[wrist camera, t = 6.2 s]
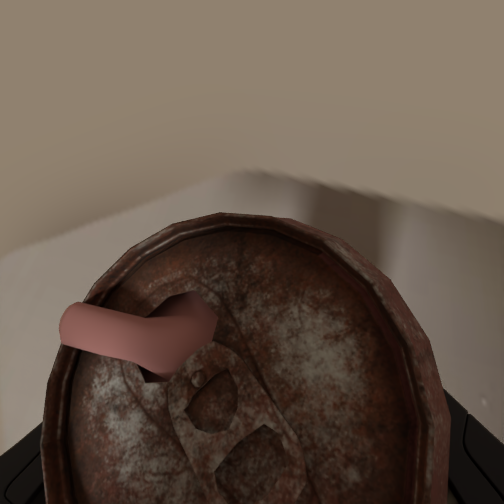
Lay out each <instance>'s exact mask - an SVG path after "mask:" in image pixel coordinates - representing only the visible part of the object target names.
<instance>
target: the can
mask: <svg viewBox="0 0 504 504" xmlns="http://www.w3.org/2000/svg"><path fill="white" fill-rule="evenodd" d="M59 333H60V338H61V345H60V348H59V351H58V354H57V357H56V359H55V362H54V365H53V368H52V371H51V374H50V377H49V380H48V383H47V390H46V398H45V407H44V415H43V424H42V432H41V440H40V450H41V459H42V469H43V479H44V489H45V498H46V504H447V492H448V470H449V448H450V426H451V416H450V412H449V409H448V405H447V402H446V398H445V394H444V391H443V387H442V384H441V380H440V376H439V373H438V369H437V366H436V362H435V358H434V355H433V351H432V348H431V344H430V340H429V339H428V337H427V335H426V334H425V332H424V331H423V329H422V328H421V326H420V325H419V323H418V321H417V320H416V318H415V317H414V315H413V314H412V312H411V311H410V309H409V308H408V306H407V304H406V303H405V301H404V300H403V298H402V297H401V295H400V294H399V292H398V291H397V289H396V287H395V286H394V284H393V283H392V281H391V280H390V279H389V278H388V277H387V276H386V275H384V274H383V273H382V272H381V271H380V270H378V269H377V268H376V267H375V266H374V265H372V264H371V263H370V262H369V261H368V260H366V259H365V258H364V257H363V256H362V255H360V254H359V253H358V252H357V251H356V250H354V249H353V248H352V247H351V246H349V245H348V244H347V243H346V242H345V241H343V240H342V239H340V238H338V237H335V236H333V235H330V234H328V233H325V232H323V231H320V230H318V229H315V228H313V227H310V226H308V225H305V224H303V223H301V222H298V221H296V220H293V219H290V218H277V217H272V216H263V215H249V214H235V213H222V212H219V213H215V214H211V215H207V216H203V217H199V218H195V219H190V220H186V221H182V222H178V223H174V224H171V225H169V226H168V227H166V228H164V229H162V230H161V231H159V232H157V233H155V234H154V235H152V236H150V237H149V238H147V239H145V240H143V241H142V242H140V243H138V244H136V245H135V246H133V247H131V248H130V249H129V250H128V251H127V252H126V253H125V254H124V255H123V256H122V257H121V258H120V259H119V260H117V261H116V262H115V263H114V264H113V265H112V266H111V267H110V268H109V269H108V270H107V271H106V272H105V273H104V274H103V275H102V276H101V277H100V278H99V279H98V280H97V281H96V282H95V283H94V285H93V286H92V288H91V289H90V291H89V293H88V294H87V296H86V298H85V299H84V301H83V302H82V303H81V302H76V303H74V304H72V305H70V306H69V307H68V308H67V309H66V310H65V312H64V313H63V315H62V317H61V320H60V324H59Z"/></svg>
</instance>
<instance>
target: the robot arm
mask: <svg viewBox="0 0 504 504" xmlns="http://www.w3.org/2000/svg"><path fill="white" fill-rule="evenodd" d="M443 391H444V394H445V398H446V402H447V405H448V409H449V412H450V416H451V426H450V448H449V470H448V492H447V504H504V444H503V443H502V442H500V441H499V440H498V439H497V438H496V437H495V436H494V435H493V434H492V433H490V432H489V431H488V430H487V429H486V428H485V427H484V426H483V425H482V424H481V423H480V422H479V421H478V420H477V419H475V418H474V417H473V416H472V415H471V414H468V411H467V410H466V409H465V408H464V407H463V406H462V405H460V404H459V403H458V402H457V401H456V400H455V399H454V398H453V397H452V396H451V395H450V394H449V393H448V392H447V391H446V390H445V389H444V388H443ZM42 424H43V422H41V423H40V424H39V425H38V426H37V427H36V428H34V429H33V430H32V431H31V432H30V433H28V434H27V435H26V436H25V437H24V438H22V439H21V440H20V441H19V442H18V443H16V444H15V445H14V446H13V447H11V448H10V449H9V450H7V451H6V452H5V453H4V454H2V455H1V456H0V504H46V498H45V489H44V479H43V469H42V459H41V450H40V440H41V432H42Z"/></svg>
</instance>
